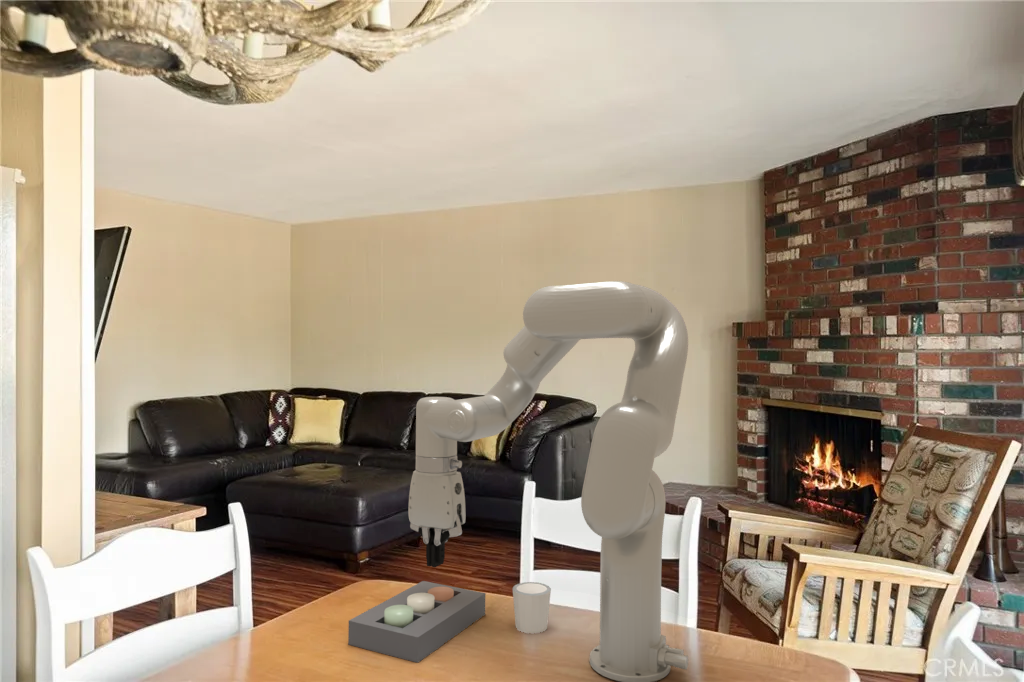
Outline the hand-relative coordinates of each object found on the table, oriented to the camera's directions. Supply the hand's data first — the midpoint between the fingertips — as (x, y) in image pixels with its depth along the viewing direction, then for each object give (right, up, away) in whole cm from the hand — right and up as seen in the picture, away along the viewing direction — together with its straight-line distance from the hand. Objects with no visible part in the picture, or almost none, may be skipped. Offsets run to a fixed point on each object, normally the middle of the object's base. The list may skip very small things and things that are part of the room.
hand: (435, 564), depth 126 cm
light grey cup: (+18, -11, -3) cm, 21 cm away
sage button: (-5, -9, -10) cm, 14 cm away
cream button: (-2, -9, -4) cm, 10 cm away
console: (-2, -10, -4) cm, 11 cm away
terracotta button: (+1, -10, +2) cm, 10 cm away
